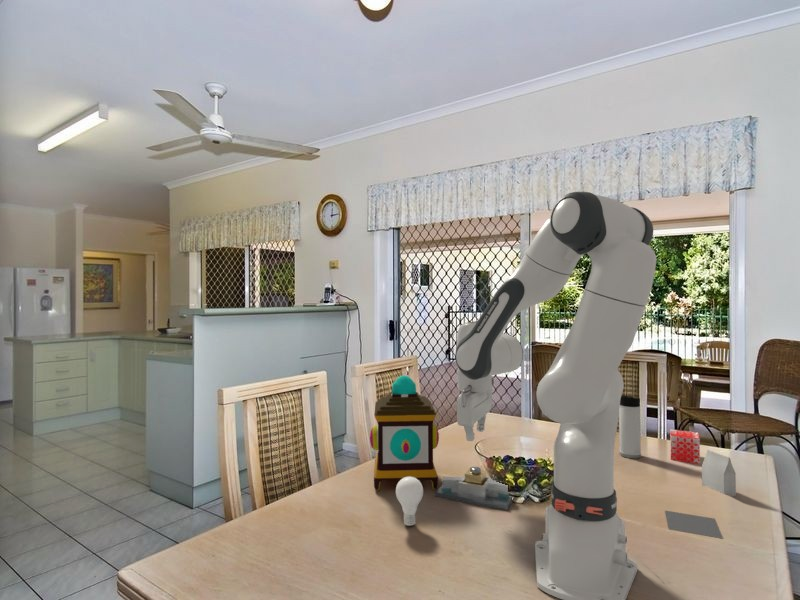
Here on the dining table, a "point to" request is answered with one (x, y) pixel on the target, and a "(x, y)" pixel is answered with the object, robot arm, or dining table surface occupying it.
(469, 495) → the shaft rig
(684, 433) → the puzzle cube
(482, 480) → the block
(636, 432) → the travel mug
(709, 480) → the white house block
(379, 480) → the decorative lantern
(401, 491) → the lightbulb
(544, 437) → the dining table surface
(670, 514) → the rubber mat
